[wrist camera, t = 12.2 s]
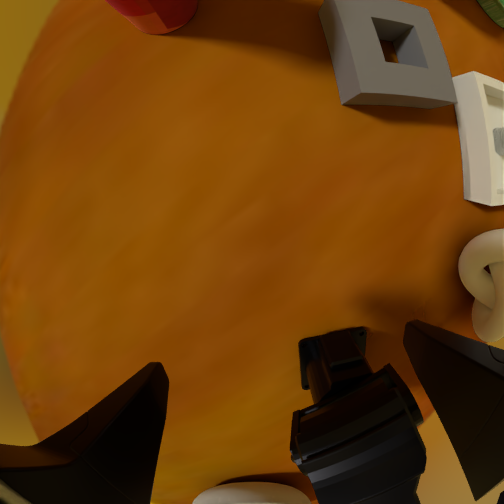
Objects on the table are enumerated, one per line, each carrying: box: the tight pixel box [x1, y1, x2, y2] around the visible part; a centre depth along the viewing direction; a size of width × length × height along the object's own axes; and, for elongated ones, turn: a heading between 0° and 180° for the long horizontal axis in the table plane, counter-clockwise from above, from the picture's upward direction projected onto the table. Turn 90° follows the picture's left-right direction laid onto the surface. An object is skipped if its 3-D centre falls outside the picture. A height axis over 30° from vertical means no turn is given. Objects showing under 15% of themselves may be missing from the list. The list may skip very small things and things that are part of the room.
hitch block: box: [318, 0, 458, 109], centre depth 15 cm, size 9×9×4 cm
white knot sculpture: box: [458, 229, 504, 342], centre depth 18 cm, size 11×12×9 cm
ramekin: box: [477, 0, 504, 28], centre depth 9 cm, size 9×9×4 cm
